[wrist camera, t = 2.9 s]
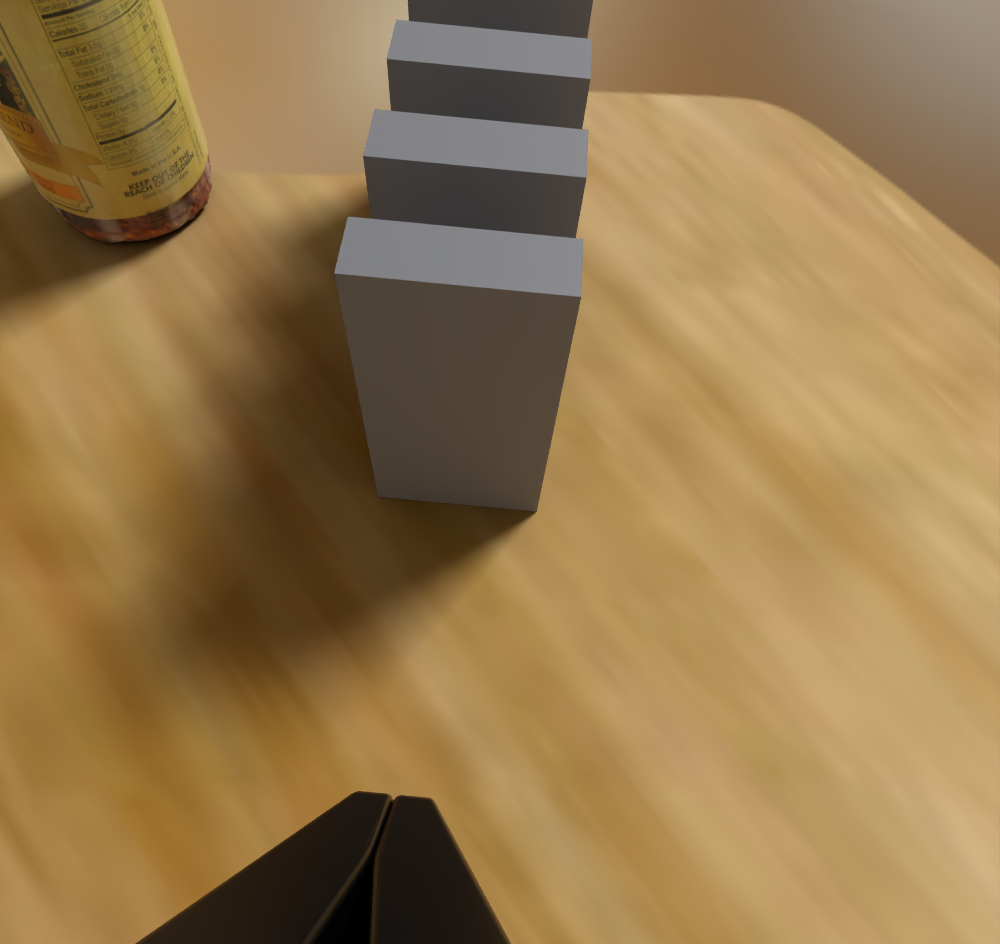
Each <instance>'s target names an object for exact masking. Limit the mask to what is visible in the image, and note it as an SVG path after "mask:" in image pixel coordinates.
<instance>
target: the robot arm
mask: <svg viewBox="0 0 1000 944" xmlns="http://www.w3.org/2000/svg"><path fill="white" fill-rule="evenodd" d="M136 944H511V943H510V941H509V939H508V937H507V935H506V934H505V932H504V930H503V928H502V926H501V924H500V922H499V921H498V919H497V917H496V915H495V913H494V911H493V909H492V908H491V906H490V904H489V902H488V900H487V898H486V896H485V895H484V893H483V891H482V889H481V887H480V885H479V883H478V881H477V880H476V878H475V876H474V874H473V872H472V870H471V868H470V867H469V865H468V863H467V861H466V859H465V857H464V855H463V854H462V852H461V850H460V848H459V846H458V844H457V842H456V841H455V839H454V837H453V835H452V833H451V831H450V829H449V828H448V826H447V824H446V822H445V820H444V818H443V816H442V815H441V813H440V811H439V809H438V807H437V805H436V803H435V802H434V801H433V800H432V799H431V798H426V797H415V796H405V795H400V796H397V797H396V798H395V799H394V801H393V799H392V797H391V796H390V795H389V794H384V793H373V792H363V791H357V792H355V793H352V794H351V795H349V796H348V797H346V798H345V799H343V800H342V801H341V802H339V803H338V804H336V805H335V806H333V807H332V808H330V809H329V810H328V811H326V812H325V813H323V814H322V815H320V816H319V817H317V818H316V819H315V820H313V821H312V822H310V823H309V824H307V825H306V826H304V827H303V828H302V829H300V830H299V831H297V832H296V833H294V834H293V835H291V836H290V837H289V838H287V839H286V840H284V841H283V842H281V843H280V844H278V845H277V846H276V847H274V848H273V849H271V850H270V851H268V852H267V853H265V854H264V855H263V856H261V857H260V858H258V859H257V860H255V861H254V862H252V863H251V864H250V865H248V866H247V867H245V868H244V869H242V870H241V871H240V872H238V873H237V874H235V875H234V876H232V877H231V878H229V879H228V880H227V881H225V882H224V883H222V884H221V885H219V886H218V887H216V888H215V889H214V890H212V891H211V892H209V893H208V894H206V895H205V896H203V897H202V898H201V899H199V900H198V901H196V902H195V903H193V904H192V905H190V906H189V907H188V908H186V909H185V910H183V911H182V912H180V913H179V914H177V915H176V916H175V917H173V918H172V919H170V920H169V921H167V922H166V923H164V924H163V925H162V926H160V927H159V928H157V929H156V930H154V931H153V932H151V933H150V934H149V935H147V936H146V937H144V938H143V939H141V940H140V941H139V942H137V943H136Z"/></svg>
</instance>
